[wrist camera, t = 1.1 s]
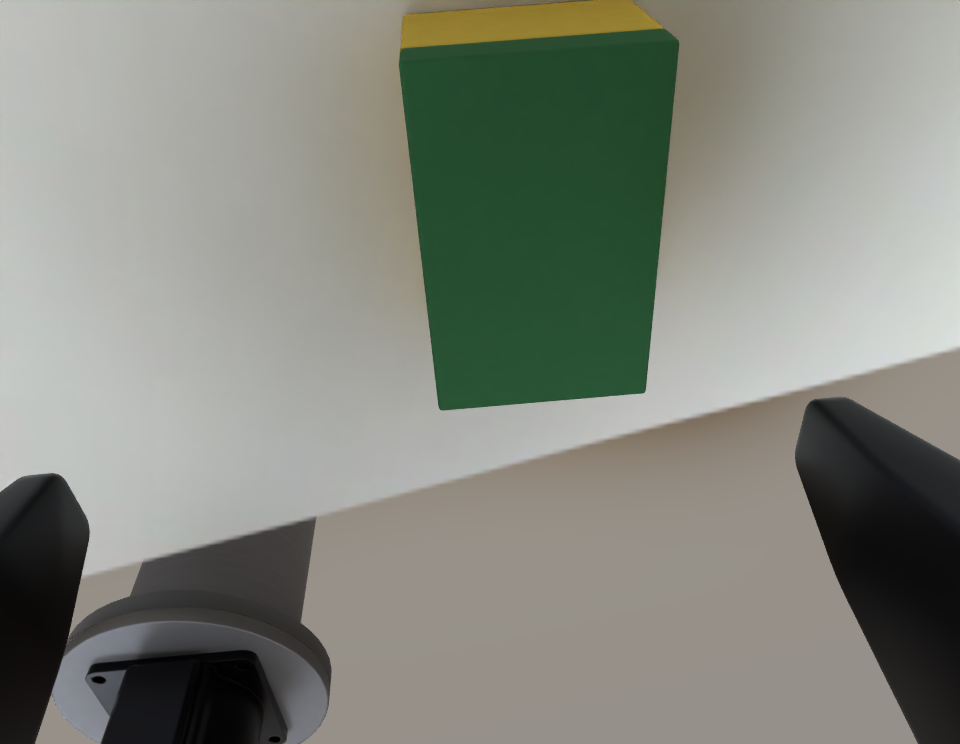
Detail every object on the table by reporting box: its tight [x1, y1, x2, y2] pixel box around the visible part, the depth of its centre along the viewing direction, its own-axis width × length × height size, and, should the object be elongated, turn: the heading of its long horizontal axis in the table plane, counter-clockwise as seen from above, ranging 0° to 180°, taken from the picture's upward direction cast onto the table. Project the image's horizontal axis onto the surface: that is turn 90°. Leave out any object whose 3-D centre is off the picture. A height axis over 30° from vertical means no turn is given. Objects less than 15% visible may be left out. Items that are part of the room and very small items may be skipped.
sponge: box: [399, 0, 679, 410], centre depth 17 cm, size 8×5×4 cm, turn 3°
